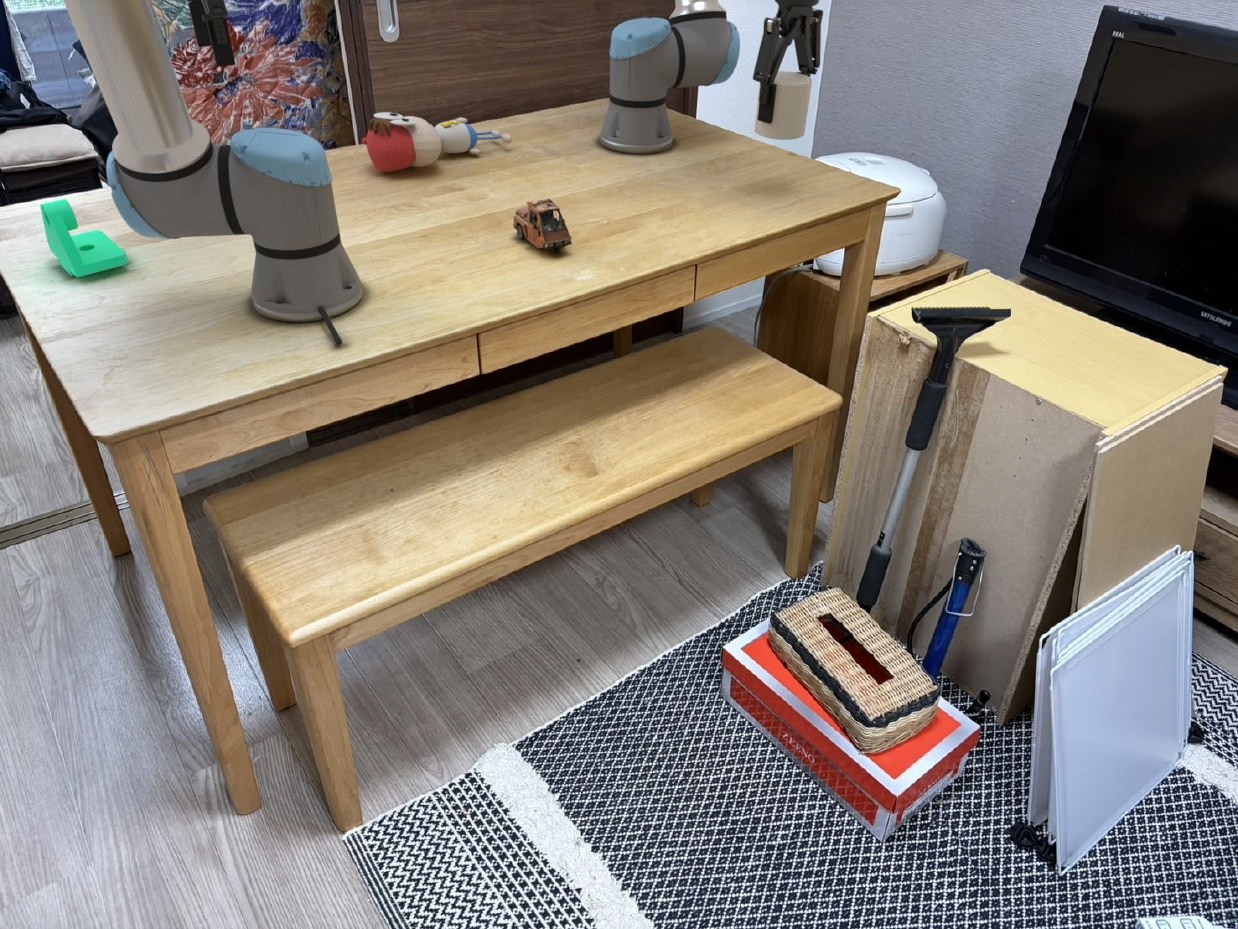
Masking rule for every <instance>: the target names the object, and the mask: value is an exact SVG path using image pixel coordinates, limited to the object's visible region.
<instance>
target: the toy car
mask: <svg viewBox="0 0 1238 929" xmlns="http://www.w3.org/2000/svg"><path fill="white" fill-rule="evenodd" d="M526 205H527V206H525V207H519V208H517V209H516V210H515V214H514V216H513V217H512V219H513V224H512V227H513V228H514V230H516V232H517V237H518V239H519V240H525V241H528V242H529V243H531V244H532V245H533V246H534V247H535V248H537V249H538V250H541V251H546V250H549V249H551V250H552V253H553V254H555V255H556V256H557V255H559V254H560V253H561V249H562V248H565V247H567V246H570V245H572V244H573V242H572V238H573V237H572V236H571V235H570V232H569V229H568V227H567V224H566V219H564V217H563V215H562V213H561V211H560V209H561V207H559V206H558V205H557V204H555V202H553V200H552V199H551V198H542V199H538V200H531V201H527V202H526ZM554 212H555V213H554ZM557 213H558V216H557Z"/></svg>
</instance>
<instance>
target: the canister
mask: <svg viewBox="0 0 1238 929" xmlns="http://www.w3.org/2000/svg"><path fill="white" fill-rule="evenodd" d="M769 76H770V74H769ZM773 84H777V87H776V95H775V103H774V111H773V119H772V123H770V124H769V123H765V122H762V121H759V120H757V119H758V110H759V94H760V85H759V88H758V95H757V105H756V113H755V120H754V121H755V123H754V132H755V134H757V135H759V136H761V137H763V138H767V139H771V140H780V141H787V140H789V141H791V140H797V139H800V138H802V137H803V136H804V135H805V132H806V126H807V118H808V112H809V104H810V98H811V90H812V86H813V79H812V78H811V76H810V77H809V76H807V75H804V74H800V73H795V72H794V71H787V70H785V71H783V70H778V73H777V75H776V78H775V81H774V83H773Z"/></svg>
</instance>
